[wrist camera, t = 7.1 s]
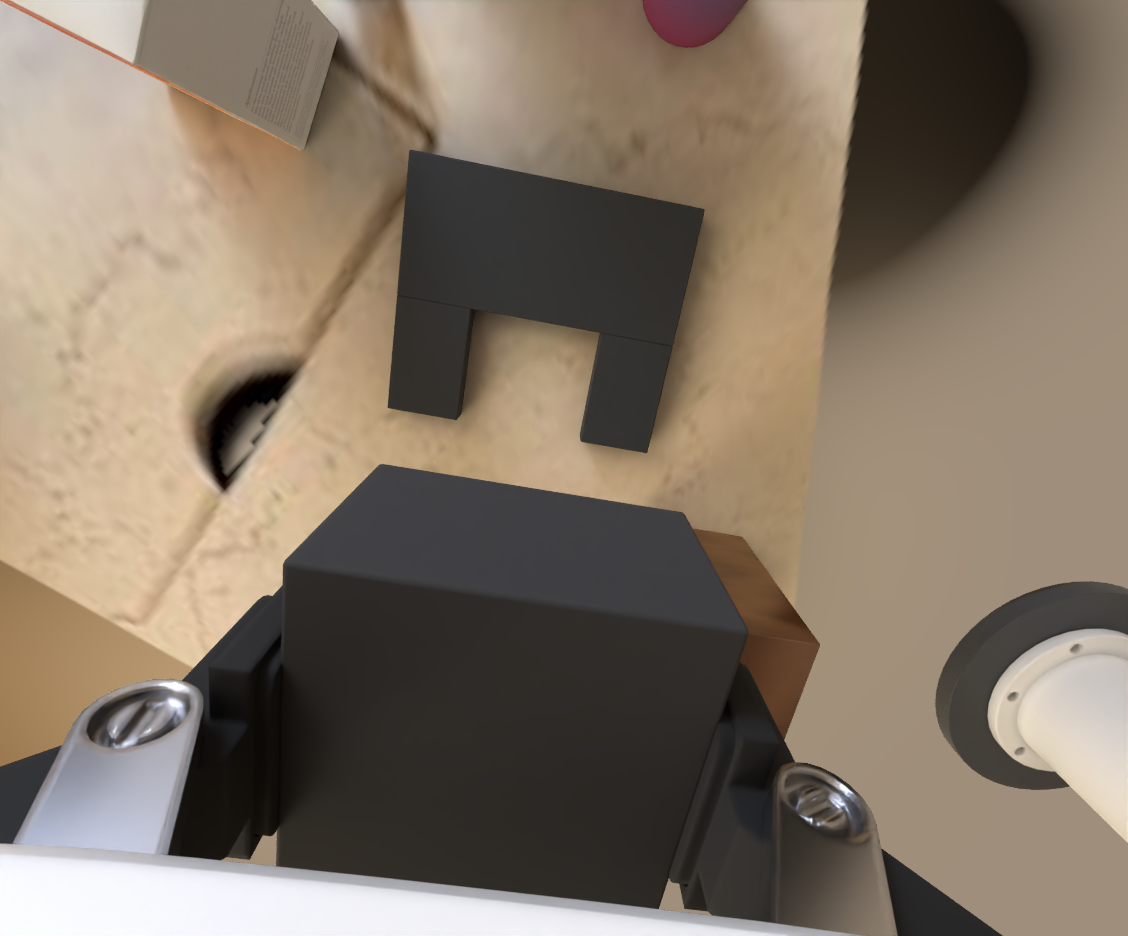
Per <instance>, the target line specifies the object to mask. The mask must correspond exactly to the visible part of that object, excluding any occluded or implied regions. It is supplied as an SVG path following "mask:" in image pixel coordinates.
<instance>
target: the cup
mask: <svg viewBox="0 0 1128 936" xmlns="http://www.w3.org/2000/svg"><path fill="white" fill-rule="evenodd" d="M747 1H748V0H643V6H644V10H645V13H646V16H647V19H648V21H649V23H650V24H651V26H652V28H653V29H654V30H655V32H656V33H657V34H658V35H659V36H660V37H661V38H663V39H664V40H665V41H667V42H668V43H671V44H673V45H675V46H679V47H685V48H689V47H697V46H701V45H704V44H706V43H708V42H710V41H711V40H713V39H715V38H716V37H717V36H718V35H719V34H720V33H722V31H723V30H724V29H725V28H726V27H727V25H728V24H729V23H730V22H731V20H732V19H733V18H734V17H735V16H736V14H737V13H738V12H739V11H740V9H741V8H742V7H743V6H744V4H745V3H746V2H747Z"/></svg>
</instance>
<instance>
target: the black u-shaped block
mask: <svg viewBox="0 0 1128 936" xmlns="http://www.w3.org/2000/svg"><path fill="white" fill-rule="evenodd" d="M704 211H705V210H704V209H701V208H696V207H691V206H686V205H681V204H676V203H671V202H666V201H661V200H656V199H651V198H646V197H641V196H637V195H632V194H627V193H622V192H617V191H612V190H607V189H602V188H597V187H592V186H587V185H582V184H577V183H572V182H567V181H562V180H557V179H552V178H548V177H543V176H538V175H533V174H528V173H523V172H518V171H513V170H508V169H503V168H498V167H493V166H488V165H483V164H478V163H473V162H468V161H463V160H459V159H454V158H449V157H444V156H439V155H434V154H429V153H424V152H419V151H414V150H410V151H409V162H408V174H407V186H406V197H405V209H404V221H403V233H402V245H401V256H400V268H399V280H398V292H397V304H396V315H395V327H394V339H393V351H392V363H391V374H390V386H389V398H388V408H391V409H396V410H402V411H408V412H414V413H419V414H425V415H431V416H437V417H442V418H448V419H454V420H457V419H458V418H459V416H460V415H461V412H462V404H463V396H464V388H465V380H466V372H467V364H468V357H469V349H470V341H471V333H472V325H473V317H474V309H476V310H481V311H486V312H492V313H497V314H503V315H508V316H513V317H519V318H524V319H529V320H535V321H540V322H545V323H551V324H556V325H562V326H567V327H572V328H578V329H583V330H588V331H594V332H599V333H600V335H599V340H598V345H597V350H596V355H595V360H594V365H593V371H592V376H591V381H590V386H589V391H588V396H587V401H586V406H585V411H584V416H583V422H582V427H581V432H580V440H581V442H586V443H592V444H598V445H603V446H609V447H615V448H621V449H626V450H632V451H638V452H644V453H647V451H648V447H649V443H650V439H651V434H652V430H653V426H654V422H655V418H656V413H657V409H658V405H659V401H660V396H661V392H662V388H663V384H664V380H665V375H666V371H667V367H668V363H669V359H670V354H671V350H672V346H673V342H674V338H675V333H676V329H677V325H678V321H679V317H680V312H681V308H682V304H683V300H684V295H685V291H686V287H687V283H688V279H689V274H690V270H691V266H692V262H693V257H694V253H695V249H696V245H697V241H698V236H699V232H700V228H701V224H702V219H703V215H704Z"/></svg>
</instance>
